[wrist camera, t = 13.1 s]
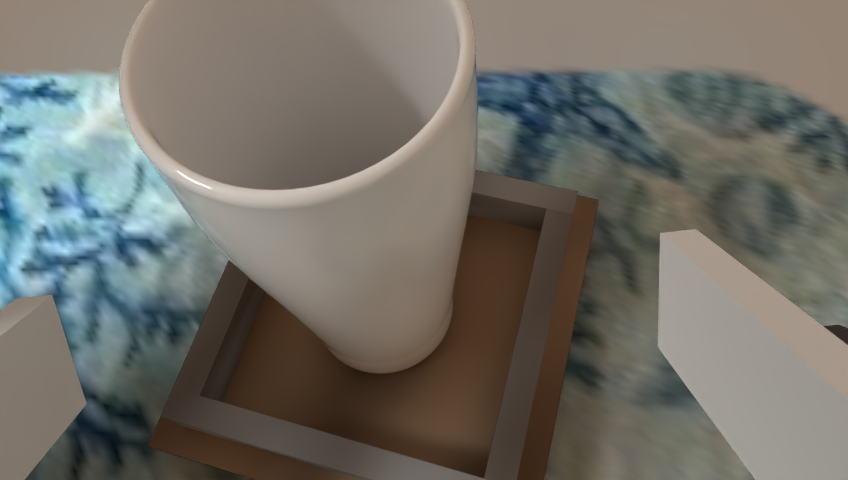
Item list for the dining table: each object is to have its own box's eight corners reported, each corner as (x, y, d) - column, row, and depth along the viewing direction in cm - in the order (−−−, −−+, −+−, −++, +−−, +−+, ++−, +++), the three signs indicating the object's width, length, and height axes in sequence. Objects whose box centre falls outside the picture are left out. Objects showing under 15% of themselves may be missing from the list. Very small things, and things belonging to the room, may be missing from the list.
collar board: (164, 451, 25) (121, 437, 22) (292, 150, 31) (272, 105, 28) (523, 562, 23) (533, 565, 20) (592, 216, 28) (608, 175, 25)
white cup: (327, 218, 27) (192, -103, 14) (487, 248, 26) (510, -66, 13) (275, 375, 25) (44, 168, 11) (451, 415, 24) (434, 242, 10)
